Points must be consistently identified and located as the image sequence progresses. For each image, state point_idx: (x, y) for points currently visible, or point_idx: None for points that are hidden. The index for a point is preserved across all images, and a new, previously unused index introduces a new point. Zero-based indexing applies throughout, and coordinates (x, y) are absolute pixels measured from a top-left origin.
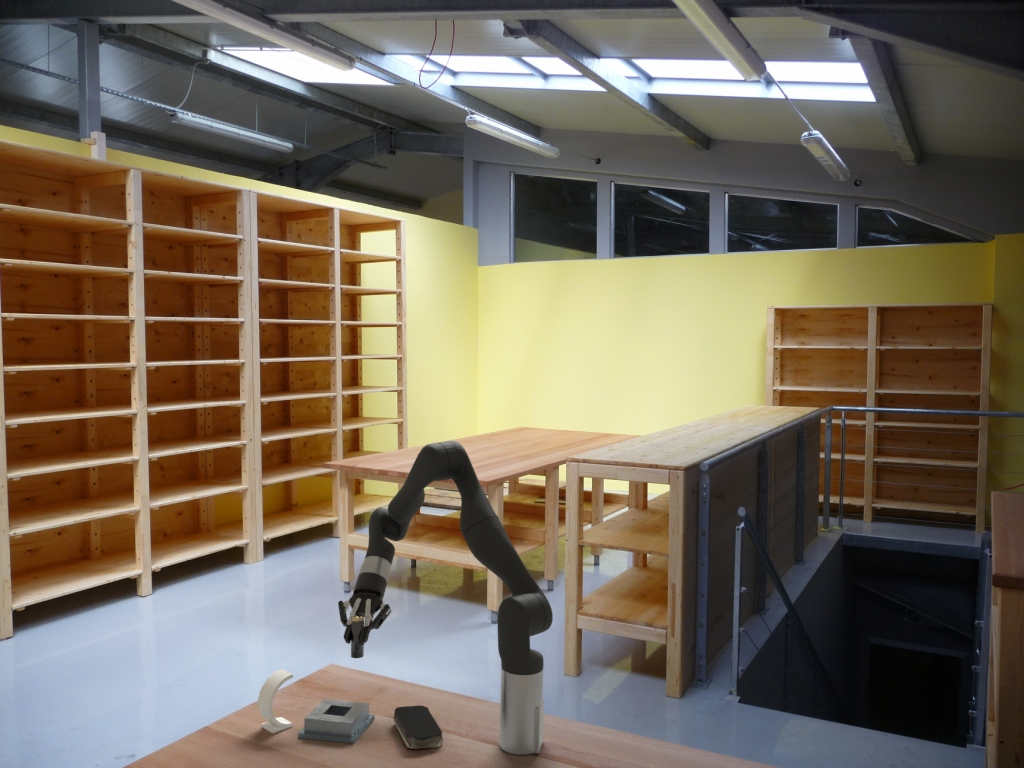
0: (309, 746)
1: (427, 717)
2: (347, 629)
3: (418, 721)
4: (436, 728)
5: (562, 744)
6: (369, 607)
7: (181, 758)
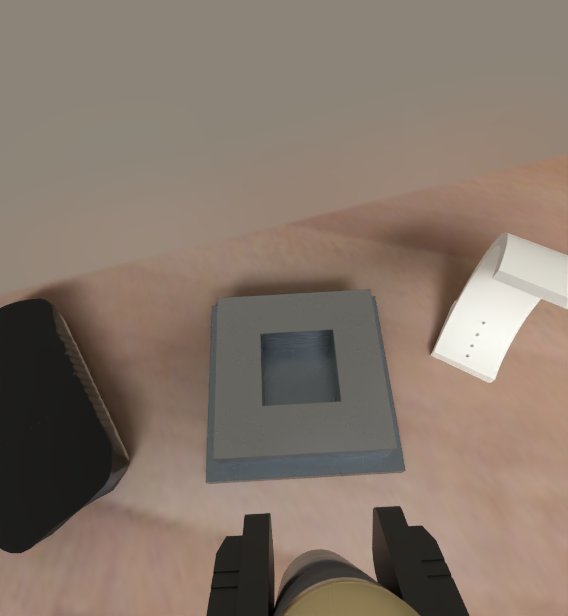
0: (318, 272)
1: None
2: (443, 609)
3: (20, 402)
4: None
5: None
6: None
7: (546, 162)
